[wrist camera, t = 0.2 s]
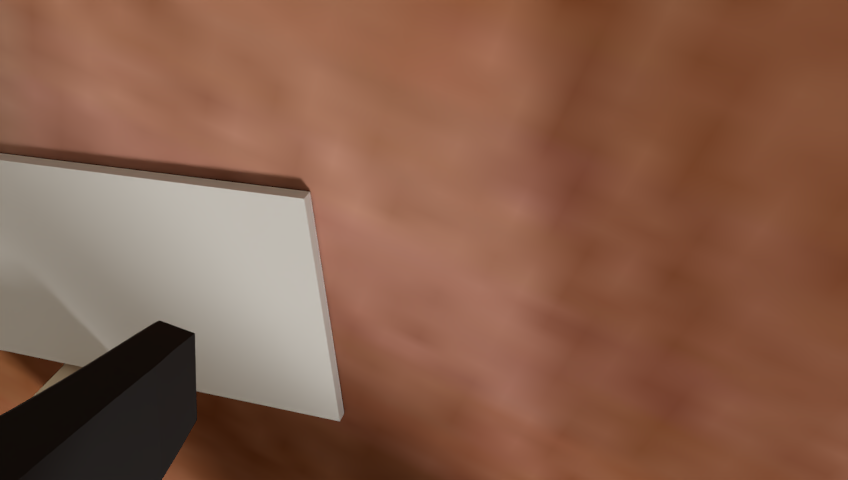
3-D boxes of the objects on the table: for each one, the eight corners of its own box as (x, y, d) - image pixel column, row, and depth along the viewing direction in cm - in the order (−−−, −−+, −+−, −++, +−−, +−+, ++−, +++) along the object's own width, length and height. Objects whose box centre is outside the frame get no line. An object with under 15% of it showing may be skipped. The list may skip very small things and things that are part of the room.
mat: (344, 412, 27) (340, 421, 27) (-96, 321, 33) (-104, 327, 32) (309, 191, 22) (304, 198, 22) (-205, 127, 28) (-215, 132, 27)
